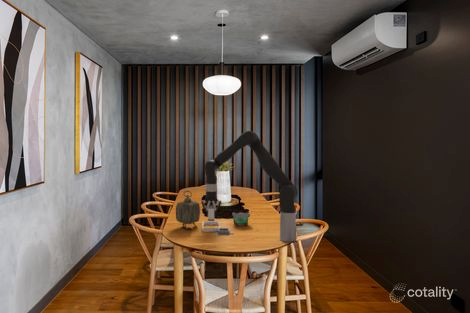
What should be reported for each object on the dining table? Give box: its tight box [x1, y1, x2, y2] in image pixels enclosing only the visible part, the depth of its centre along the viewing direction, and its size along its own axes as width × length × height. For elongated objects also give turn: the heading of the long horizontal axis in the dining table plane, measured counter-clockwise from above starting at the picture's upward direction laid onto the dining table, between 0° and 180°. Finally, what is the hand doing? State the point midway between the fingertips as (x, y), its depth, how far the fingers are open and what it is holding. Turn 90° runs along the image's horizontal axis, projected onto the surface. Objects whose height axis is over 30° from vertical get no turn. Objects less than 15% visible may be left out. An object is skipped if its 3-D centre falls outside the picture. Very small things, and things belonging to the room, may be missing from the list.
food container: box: [231, 212, 250, 227], centre depth 231 cm, size 12×6×10 cm, turn 101°
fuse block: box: [213, 227, 234, 236], centre depth 213 cm, size 12×8×3 cm, turn 94°
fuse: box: [207, 205, 215, 222], centre depth 224 cm, size 4×4×10 cm
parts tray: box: [201, 220, 221, 233], centre depth 225 cm, size 12×18×3 cm, turn 4°
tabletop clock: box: [175, 190, 201, 229], centre depth 227 cm, size 14×9×25 cm, turn 59°
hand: (211, 215), depth 224 cm, fingers closed on fuse, 4 cm apart
